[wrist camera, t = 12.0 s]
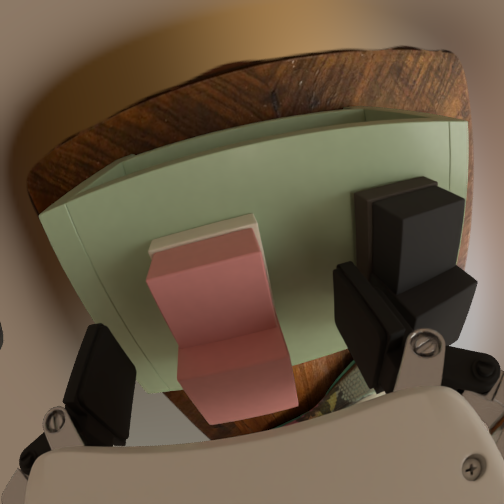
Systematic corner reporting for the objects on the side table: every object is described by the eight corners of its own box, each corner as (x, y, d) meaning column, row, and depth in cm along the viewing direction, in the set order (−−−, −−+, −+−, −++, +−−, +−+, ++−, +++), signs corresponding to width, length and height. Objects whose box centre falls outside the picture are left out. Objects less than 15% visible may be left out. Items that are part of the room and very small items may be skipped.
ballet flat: (416, 338, 36) (453, 390, 27) (290, 439, 46) (303, 486, 37) (382, 318, 32) (426, 382, 23) (245, 434, 42) (255, 488, 33)
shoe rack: (163, 285, 25) (147, 394, 15) (116, 160, 20) (37, 215, 9) (368, 232, 26) (446, 308, 16) (359, 105, 20) (468, 121, 10)
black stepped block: (412, 296, 14) (458, 341, 11) (354, 322, 14) (396, 380, 10) (423, 175, 11) (495, 208, 7) (352, 192, 10) (427, 237, 7)
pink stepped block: (280, 340, 14) (302, 408, 10) (204, 357, 14) (208, 428, 10) (253, 212, 11) (278, 273, 7) (151, 239, 11) (127, 309, 7)
